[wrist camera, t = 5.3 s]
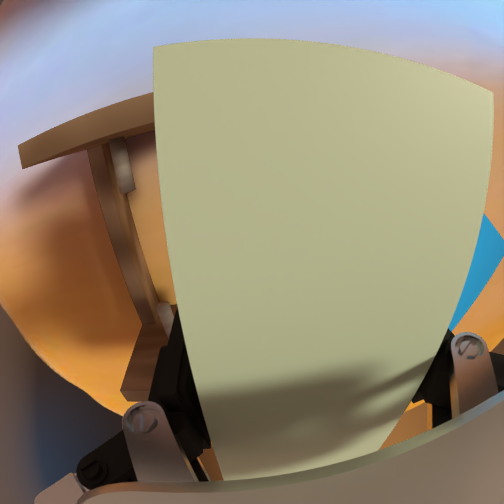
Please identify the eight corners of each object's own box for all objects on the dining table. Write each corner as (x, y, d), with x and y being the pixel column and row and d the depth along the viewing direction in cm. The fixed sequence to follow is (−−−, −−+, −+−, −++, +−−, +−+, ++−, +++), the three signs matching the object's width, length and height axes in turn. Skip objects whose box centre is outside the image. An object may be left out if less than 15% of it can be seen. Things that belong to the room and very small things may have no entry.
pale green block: (196, 87, 8) (152, 46, 3) (382, 95, 8) (493, 92, 3) (228, 420, 14) (230, 498, 10) (331, 410, 15) (352, 481, 10)
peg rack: (98, 131, 22) (17, 145, 11) (224, 99, 22) (217, 78, 11) (152, 318, 31) (127, 401, 20) (256, 304, 31) (269, 392, 20)
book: (509, 245, 27) (406, 384, 35) (490, 233, 31) (395, 365, 39) (450, 174, 23) (321, 364, 31) (426, 166, 27) (312, 340, 35)
